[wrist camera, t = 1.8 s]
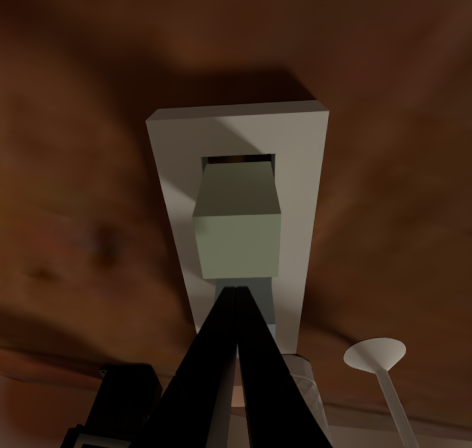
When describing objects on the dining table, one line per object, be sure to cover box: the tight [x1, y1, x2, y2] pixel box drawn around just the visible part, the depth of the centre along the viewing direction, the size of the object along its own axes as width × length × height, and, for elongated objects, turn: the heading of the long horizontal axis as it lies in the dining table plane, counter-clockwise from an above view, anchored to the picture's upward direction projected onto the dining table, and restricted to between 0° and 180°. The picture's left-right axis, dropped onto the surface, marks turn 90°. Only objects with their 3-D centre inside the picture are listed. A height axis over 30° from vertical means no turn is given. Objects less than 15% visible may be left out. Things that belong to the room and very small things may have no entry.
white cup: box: [282, 355, 334, 448], centre depth 28 cm, size 8×8×10 cm
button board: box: [146, 100, 329, 354], centre depth 21 cm, size 9×22×2 cm, turn 3°
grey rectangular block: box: [214, 277, 276, 358], centre depth 17 cm, size 3×3×5 cm
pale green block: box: [192, 161, 281, 279], centre depth 13 cm, size 3×3×5 cm
